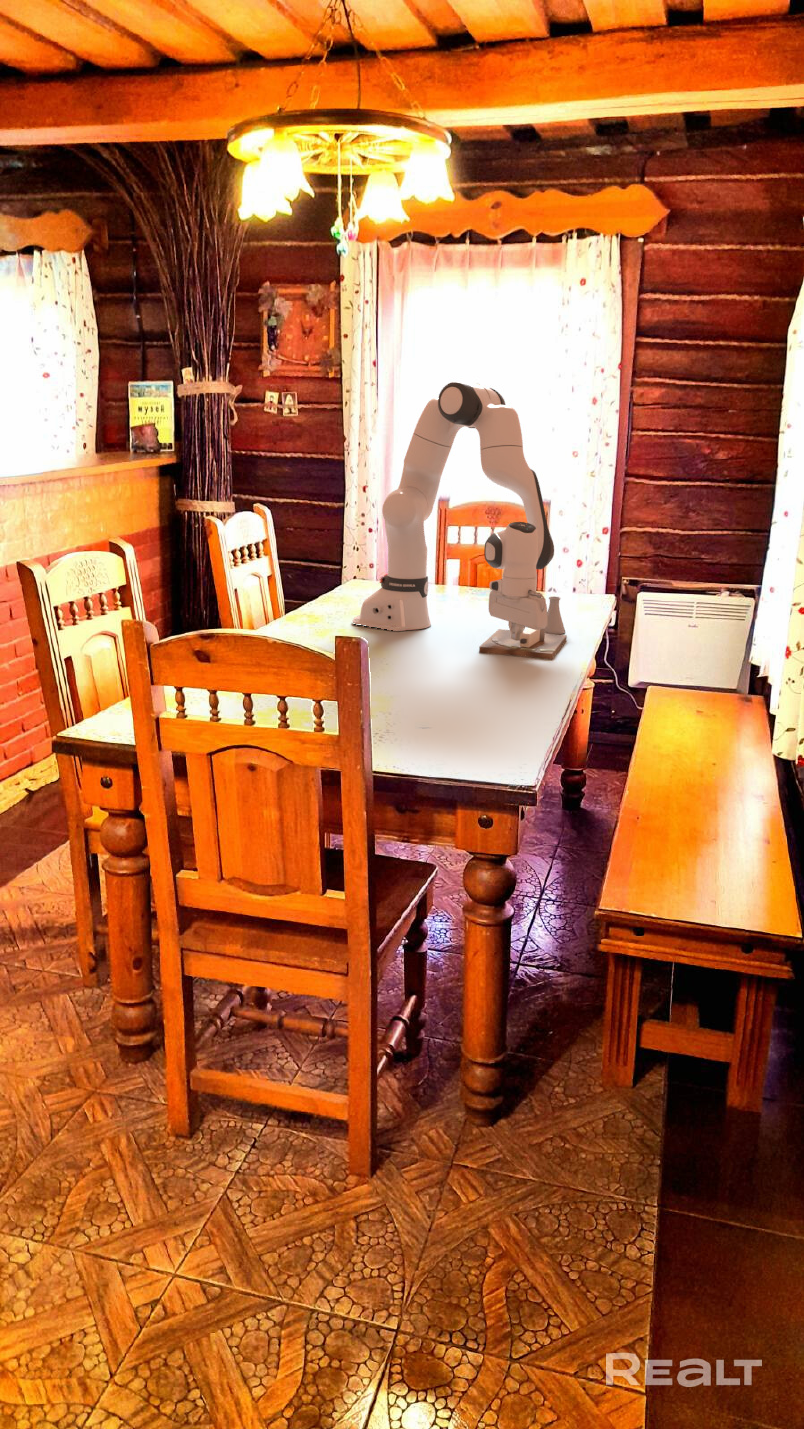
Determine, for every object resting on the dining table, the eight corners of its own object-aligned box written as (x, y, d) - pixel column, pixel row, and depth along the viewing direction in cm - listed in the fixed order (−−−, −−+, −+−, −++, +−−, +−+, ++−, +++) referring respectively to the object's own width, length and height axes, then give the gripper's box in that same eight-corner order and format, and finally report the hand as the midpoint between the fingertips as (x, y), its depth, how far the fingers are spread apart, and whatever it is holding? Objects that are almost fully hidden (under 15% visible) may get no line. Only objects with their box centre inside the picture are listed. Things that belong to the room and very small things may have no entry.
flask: (564, 635, 290) (567, 600, 287) (538, 634, 291) (540, 599, 288) (565, 630, 297) (568, 595, 294) (540, 628, 298) (542, 594, 295)
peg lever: (532, 637, 280) (533, 624, 279) (546, 638, 278) (547, 625, 277) (514, 647, 268) (515, 634, 267) (529, 649, 267) (530, 635, 266)
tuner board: (479, 652, 270) (479, 645, 269) (498, 634, 290) (498, 628, 289) (552, 659, 264) (553, 653, 264) (567, 640, 284) (568, 634, 284)
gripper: (555, 593, 260) (551, 646, 264) (504, 579, 276) (501, 630, 280) (535, 595, 257) (532, 649, 261) (485, 581, 273) (483, 633, 277)
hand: (516, 639), depth 271 cm, fingers closed
